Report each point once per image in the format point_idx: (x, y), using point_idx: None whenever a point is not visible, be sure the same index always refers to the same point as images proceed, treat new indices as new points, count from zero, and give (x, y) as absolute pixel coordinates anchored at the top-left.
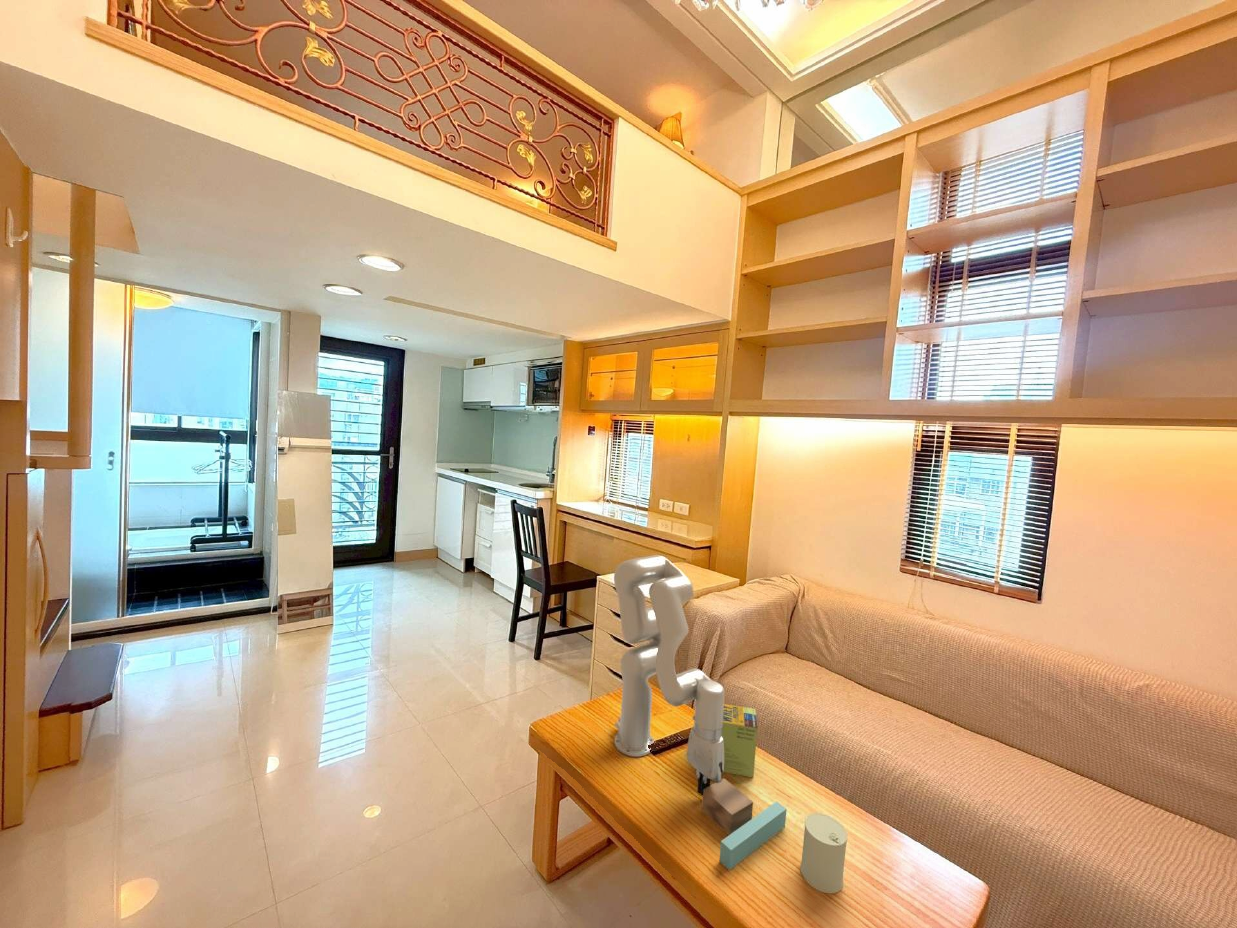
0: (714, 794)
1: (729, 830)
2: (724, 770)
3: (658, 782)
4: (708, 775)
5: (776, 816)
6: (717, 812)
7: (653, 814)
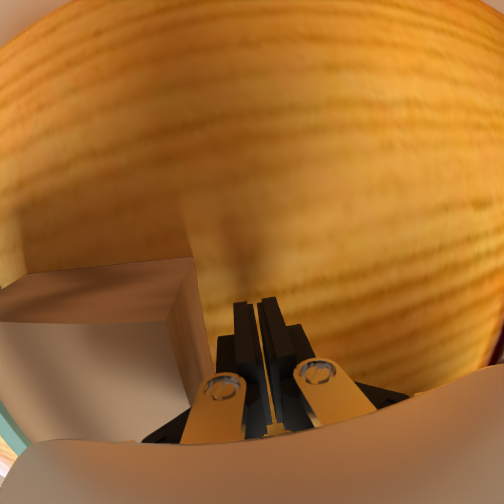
0: (89, 358)
1: (17, 281)
2: None
3: (450, 166)
4: (48, 468)
5: (5, 440)
6: (59, 291)
7: (291, 2)
